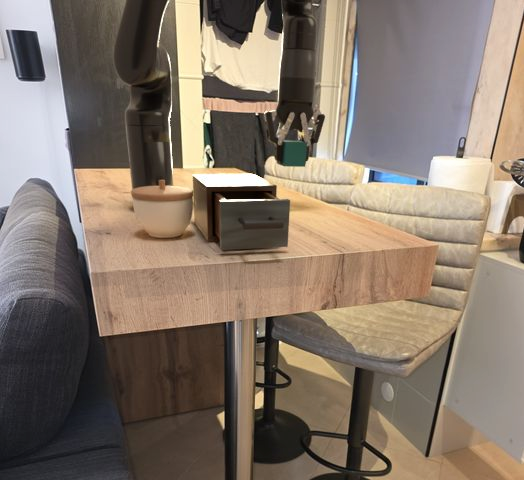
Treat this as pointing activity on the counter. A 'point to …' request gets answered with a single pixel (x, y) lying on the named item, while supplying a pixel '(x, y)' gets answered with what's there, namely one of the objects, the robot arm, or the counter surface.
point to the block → (294, 153)
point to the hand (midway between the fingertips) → (291, 163)
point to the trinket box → (163, 209)
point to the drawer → (250, 219)
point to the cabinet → (221, 183)
